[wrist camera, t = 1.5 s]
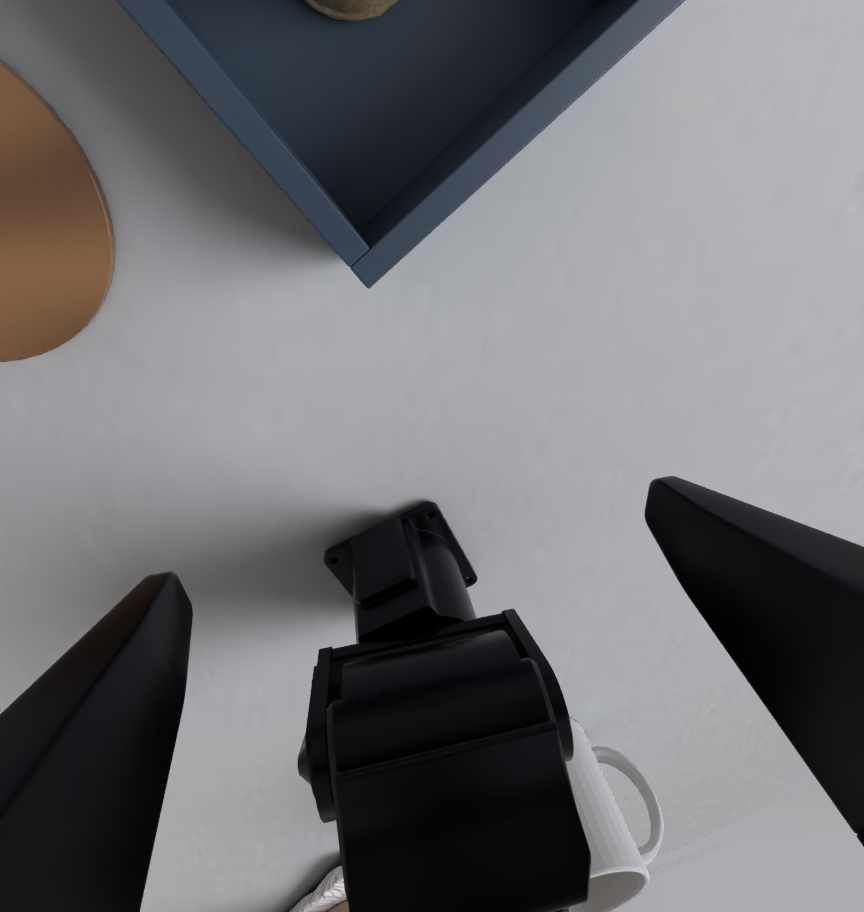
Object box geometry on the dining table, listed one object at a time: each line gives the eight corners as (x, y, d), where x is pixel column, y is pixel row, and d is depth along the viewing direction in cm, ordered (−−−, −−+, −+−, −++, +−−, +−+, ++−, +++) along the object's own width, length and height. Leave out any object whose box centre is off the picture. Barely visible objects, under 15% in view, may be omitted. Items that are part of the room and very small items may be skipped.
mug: (457, 768, 40) (494, 932, 31) (532, 699, 37) (595, 861, 28) (550, 784, 44) (604, 930, 36) (623, 724, 41) (701, 869, 33)
